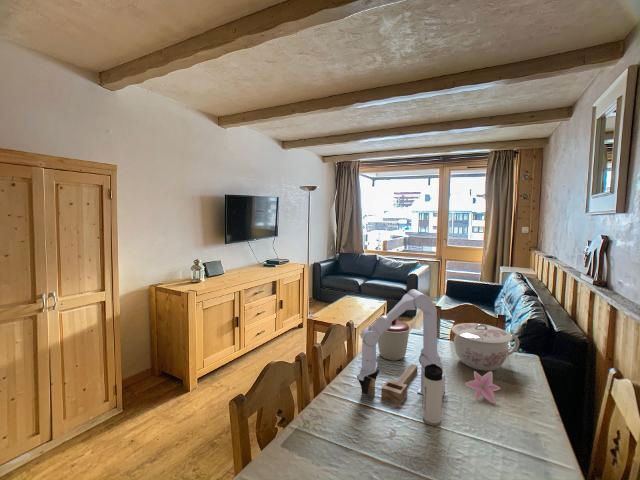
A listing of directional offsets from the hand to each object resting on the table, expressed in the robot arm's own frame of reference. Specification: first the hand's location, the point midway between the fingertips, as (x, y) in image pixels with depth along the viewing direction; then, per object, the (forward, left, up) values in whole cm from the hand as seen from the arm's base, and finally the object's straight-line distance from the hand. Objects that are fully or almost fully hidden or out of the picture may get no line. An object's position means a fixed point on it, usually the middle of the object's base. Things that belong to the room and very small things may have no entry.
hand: (368, 389), depth 134 cm
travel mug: (-26, +1, -3) cm, 26 cm away
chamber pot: (-34, -58, -3) cm, 67 cm away
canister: (+6, -42, -3) cm, 43 cm away
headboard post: (-9, -17, -3) cm, 19 cm away
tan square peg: (0, 0, -3) cm, 3 cm away
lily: (-39, -27, -3) cm, 48 cm away
